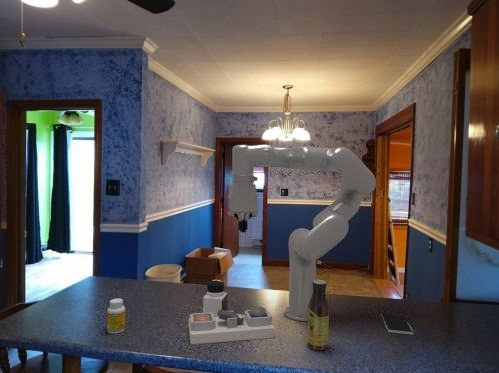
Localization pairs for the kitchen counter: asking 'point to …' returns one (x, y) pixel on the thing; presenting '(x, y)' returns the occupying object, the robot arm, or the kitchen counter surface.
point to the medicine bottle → (215, 298)
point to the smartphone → (396, 323)
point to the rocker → (230, 316)
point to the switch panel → (230, 328)
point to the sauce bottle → (318, 317)
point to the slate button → (257, 312)
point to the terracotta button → (202, 317)
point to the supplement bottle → (116, 316)
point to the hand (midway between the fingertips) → (242, 231)
